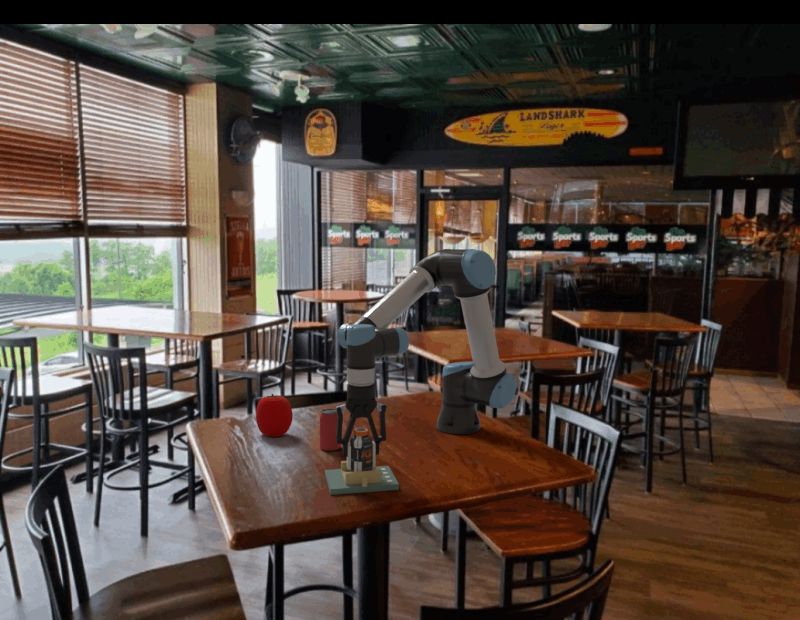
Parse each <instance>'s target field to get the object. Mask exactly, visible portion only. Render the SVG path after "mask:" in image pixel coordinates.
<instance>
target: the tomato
mask: <svg viewBox="0 0 800 620" xmlns="http://www.w3.org/2000/svg"><path fill="white" fill-rule="evenodd" d="M293 413H294V412H293V409H292V406H291V403H290V401H289V400H288V399H287V398H286V397H285V396H283V395H277V394H276V395H275V394H274V393H271V395H263V397H262V398H261V399H260V400H259V401H258V403H257V405H256V411H255V421H256V425H257V428H258V431H259V432H260V433H261V434H262V435H264V436H265V437H270V438H279V437H282V436H284V435H285V434H287V432H288V431H289V430H290V429H291V428H290V427H291V425H292V423H293V418H294V417H293V416H294V415H293Z"/></svg>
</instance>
